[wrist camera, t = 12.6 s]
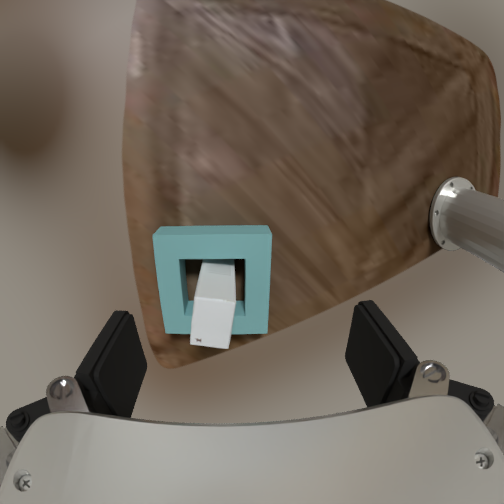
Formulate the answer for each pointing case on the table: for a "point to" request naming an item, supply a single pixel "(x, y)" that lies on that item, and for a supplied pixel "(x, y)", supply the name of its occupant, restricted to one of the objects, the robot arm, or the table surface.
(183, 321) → the hollow square block
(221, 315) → the skincare box
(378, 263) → the table surface
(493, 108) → the table surface
